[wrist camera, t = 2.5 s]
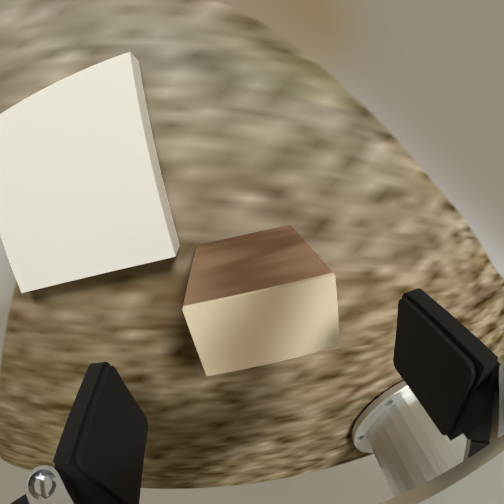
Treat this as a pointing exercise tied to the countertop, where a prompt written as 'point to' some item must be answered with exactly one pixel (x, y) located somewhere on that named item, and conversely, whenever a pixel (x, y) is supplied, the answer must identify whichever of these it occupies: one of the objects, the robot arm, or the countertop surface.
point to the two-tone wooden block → (259, 301)
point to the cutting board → (82, 179)
